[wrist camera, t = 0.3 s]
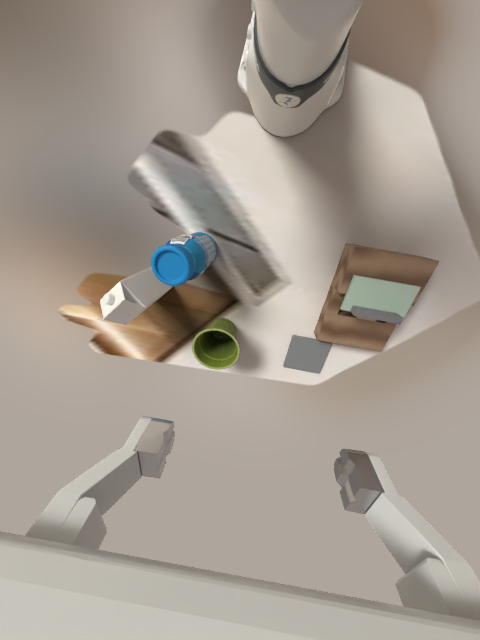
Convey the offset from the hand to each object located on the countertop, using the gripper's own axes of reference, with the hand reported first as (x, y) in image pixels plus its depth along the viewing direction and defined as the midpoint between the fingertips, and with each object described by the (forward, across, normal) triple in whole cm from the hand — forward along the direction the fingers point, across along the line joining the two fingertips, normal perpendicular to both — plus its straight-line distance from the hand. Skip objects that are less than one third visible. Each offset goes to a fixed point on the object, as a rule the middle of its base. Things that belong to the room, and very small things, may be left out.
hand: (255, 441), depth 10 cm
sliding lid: (+41, -27, +3) cm, 49 cm away
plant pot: (+47, +8, +20) cm, 52 cm away
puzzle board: (+47, -27, +6) cm, 54 cm away
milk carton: (+47, +27, +10) cm, 55 cm away
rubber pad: (+47, -18, +25) cm, 56 cm away
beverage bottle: (+47, +15, -1) cm, 49 cm away
